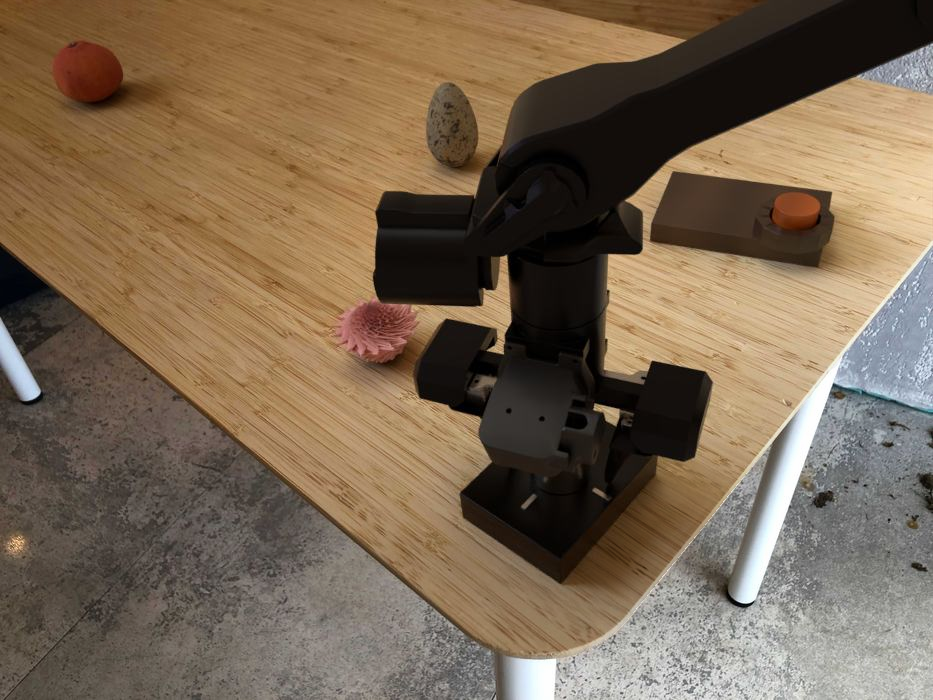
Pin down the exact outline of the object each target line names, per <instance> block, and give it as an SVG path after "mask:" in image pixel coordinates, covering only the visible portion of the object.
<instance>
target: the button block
mask: <svg viewBox="0 0 933 700" xmlns="http://www.w3.org/2000/svg"><path fill="white" fill-rule="evenodd" d="M791 192H798V193H804V194H808V195H810V196H812V197H814V198H815V199H817V200H818V202H819V203H820V211H819V215H818V219H817V223H816V225H815V226H814V227H813V228H812V229H808V230H802V231H796V230H790V229H784V228H782V227H780V226H778V225H776V224H775V223H774V222H773V220H772V214H773V209H774V204H775V200H776V199H777V197H779V196H780V195H782V194H785V193H791ZM832 196H833V191H831V190H823V189H814V188H807V187H800V186H793V185H792V186H791V185H783V184H776V183H769V182H761V181H760V182H759V181H754V180H745V179H738V178H729V177H723V176H715V175H707V174H699V173H691V172H685V171H684V172H683V171H676V170H672V172H671V174H670V177H669V180H668V182H667V183H666V186H665V189H664V191H663V193H662V196H661V198H660V201H659V202H658V206H657V208H656V211H655V212H654V216H653V218H652V220H651V222H650V233H649V241H650V242H655V243H661V244H668V245H674V246H680V247H687V248H693V249H700V250H706V251H713V252H718V253H723V254H731V255H738V256H744V257H750V258H754V259H755V258H756V259H762V260H768V261H775V262H781V263H787V264H794V265H800V266H806V267H813V268H819V266H820V262H821V257H822V254H823V250H824V247H825V246H827V245H828V244H830V240H831V237H832V233H833V230H834V223H835V217H836V216H835V215H834V213H832V211H831V210H830V209H831V203H832Z"/></svg>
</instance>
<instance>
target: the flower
mask: <svg viewBox="0 0 933 700" xmlns="http://www.w3.org/2000/svg"><path fill="white" fill-rule="evenodd" d="M355 302H356V303H357V306H354V307H349V306H343V309H344V310H346V311H348V312H344V313H343V314H339V315H334V316H333V317H334V319H340V320H341V321H339V322H336V323H335V324H331V325H330V326H328V327H329V328H330V329H333V328H339V329H338V331H336V332H335V333H334V334H332V335H330V336H329V338H330V339H331V338H340V339H339V341H338V342H337V343H336V345H335V346H336V347H339V346H343V345H345V344H346V353H347V354H348V353H350V352H351V351H352V352H354V354H355V355H359V356H360V359H363V360H364V359H365V361H366V363H369V362H373V363H376V364H379V363H380V364H383V363H387V362H388V361H393V360H394V359H395V358H396V356H398V355H401V354H402V353H403V350H404V348H405V346H406V345H407V344H408V340H409V339H411V338H412V337H413V336H414V335H415V334H417V331H415V330H414V329H416V327H418V325H419V324H420V323H421V321H420V320H416V318H417V316H418V314H419V311H418V310H417V311H413V312H412V305H407V304H405V305H404V306H403V304H382V303H381V302H380V301H379V299H378V298H375V297H374V296H373V295H371V296H370V300H369V301H368V302H367V301H361V300H360V299H356V300H355Z"/></svg>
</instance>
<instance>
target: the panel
mask: <svg viewBox="0 0 933 700" xmlns="http://www.w3.org/2000/svg"><path fill="white" fill-rule="evenodd" d="M615 428H616V425H615V424H613V423H611V422H609V421H607V420H606V425H605V431H604V434H603V438H602V441H601V445H600V448H599V452H598V455H597V459H596V461H595V463H594V464H593V465H591V475H590V478H589V480H588V482H587V483H586V484H585V485H584V486H583V487H582V488H581V489H579V490H577V491H575V492H573V493H569V494H561V495H560V494H552V493H548V492H546V491H544V490H542V489H540V488H539V487H538V486H537V485H536V484H535V483H534V482H533V480H532V478H531V476H530V472H526V471H523V470H519V469H515V468H511V467H503V466H500V465H497V464H495V463H493V462H492V461H491V462H490V463H489V464H488V465H487V466H486V467H485V468H484V469H483V470H481V471H480V473H478V474H477V475H476V476H475V478H474V479H472V480H471V481H470V482H469V483H468V484H467V485H466V486H465V487H464V488H463V489H462V490H461V491H460V492H459V499H460V507H461V514H462V518H463V519H464V520H466V521H467V522H469V523H470V524H472V525H473V526H474V527H476V528H477V529H479V530H480V531H482V532H483V533H485V534H486V535H487V536H489V537H490V538H492V539H494V540H495V541H496V542H498V543H499V544H501V545H502V546H503V547H505V548H507V550H510V551H511V552H513V553H514V554H515V555H517V556H519V557H520V558H521V559H523V560H524V561H526V562H527V563H529V564H530V565H532V566H533V567H535V568H536V569H538V570H539V571H540V572H542V573H543V574H545V575H546V576H547V577H549V578H551V579H552V580H553V581H555V582H556V583H558V584H559V585H562V583H564V581H565V580H567V578H568V577H569V575H570V574H571V573H572V572H573V571H574V570H575V569H576V568H577V566H578V565H579V564H580V563H581V562H582V561H583V559H584V558H585V556H587V555H588V554H589V553H590V551H591V550H592V549H593V548H594V547H595V545H596V544H598V543H599V541H600V540H601V538H602V537H604V535H605V534H606V533H607V532H608V531H609V529H610V528H611V527H612V526H613V525H614V524H615V523H616V521H618V520H619V518H620V517H621V516H622V514H623V513H624V512H625V511H626V509H628V507H630V505H631V504H632V503H633V502H634V500H635V499H636V498H637V497H638V496H639V495H640V494H641V492H642V491H643V490H644V489H646V487H647V485H649V483H650V482H651V481H652V480H653V479H654V477H656V475H657V469H658V458H659V456H656V455H654V456H652V457H649V458H646V457H641V456H637V455H633V454H632V455H631V456H630V457H629V458H628V459H627V460H626V461H625V463H624V464H623V465H622V467H621V468H620V470H619V471H618V473H617V474H616V476H615V477H614V479H613V480H612V482H611V483H606V482H605V476H604V472H605V467H606V463H607V459H608V455H609V451H610V449H609V445H610V442H611V439H612V436H613V433H614V431H615Z"/></svg>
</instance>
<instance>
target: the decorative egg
mask: <svg viewBox="0 0 933 700" xmlns="http://www.w3.org/2000/svg"><path fill="white" fill-rule="evenodd" d="M425 120H426V121H425V138H426V143H427V147H428V149H429V152H430V153H431V155H432V157H433V158H434V159H435V160H436V161H437V162H438V163H440V164H442V165H443V166H446V167H450V168H456V167H461V166H463V165H465V164H467V163H468V162H469V161H470V160H471V159H472V158H473V157H474V155H475V153H476V151H477V149H478V145H479V127H478V122H477V118H476V115H475V111H474V110H473V107H472V105H471V102H470V100H469V99H468V97H467V96H466V93H465V92H464V91H463V90H462V89H461V88H460V87H459V85H457V84H455V83H453V82H450V81H447V82H443V83H440V85H438V86H437V88H436V89H435V90H434V92H433V94H432V95H431V99H430V102H429V105H428V108H427V113H426V119H425Z"/></svg>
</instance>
